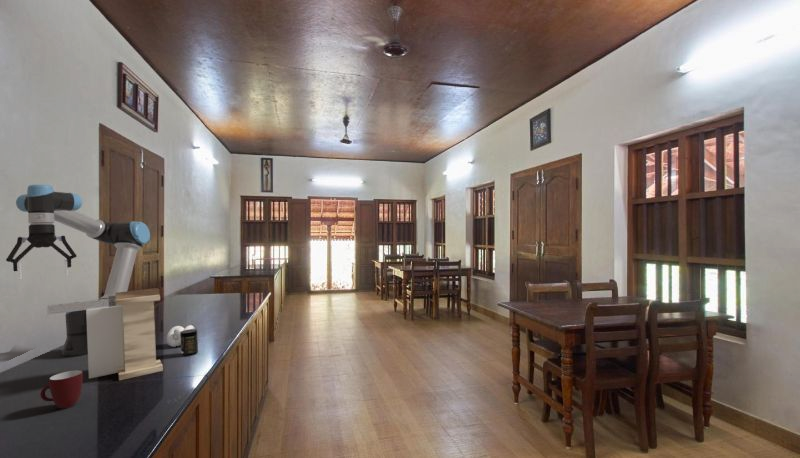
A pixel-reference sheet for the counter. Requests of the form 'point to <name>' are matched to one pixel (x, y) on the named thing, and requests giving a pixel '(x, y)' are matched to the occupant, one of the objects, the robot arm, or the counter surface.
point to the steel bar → (81, 305)
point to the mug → (64, 388)
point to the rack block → (104, 340)
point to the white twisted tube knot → (176, 335)
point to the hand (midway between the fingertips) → (43, 277)
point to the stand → (138, 332)
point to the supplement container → (189, 342)
